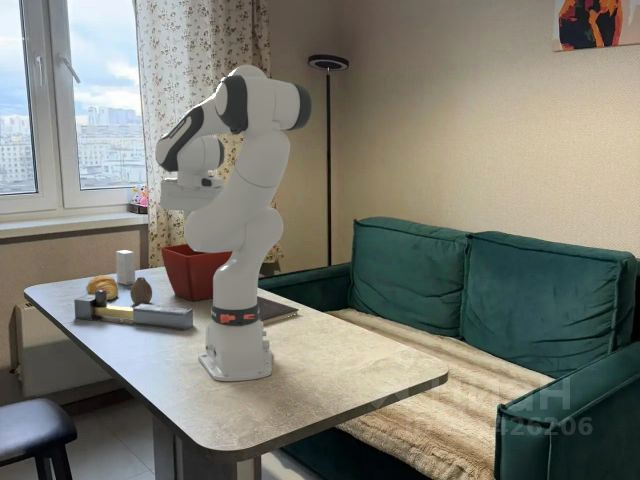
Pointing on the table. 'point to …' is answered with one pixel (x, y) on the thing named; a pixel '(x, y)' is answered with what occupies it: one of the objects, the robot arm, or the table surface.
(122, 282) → the skincare box
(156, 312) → the guide
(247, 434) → the table surface
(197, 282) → the plant pot
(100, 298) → the sliding bolt
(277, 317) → the hardcover book
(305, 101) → the robot arm
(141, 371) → the table surface
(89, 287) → the croissant
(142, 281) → the vase
